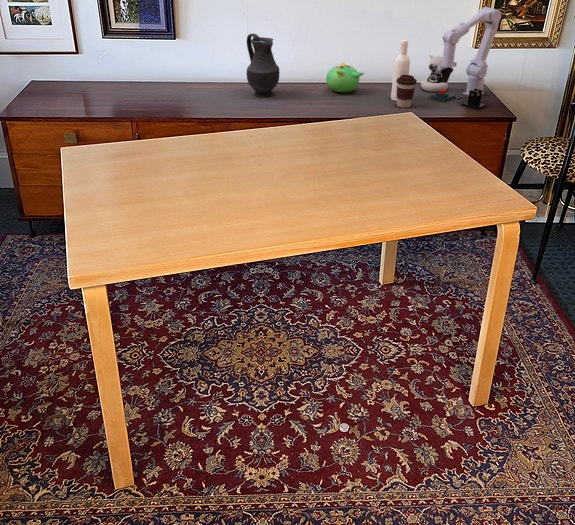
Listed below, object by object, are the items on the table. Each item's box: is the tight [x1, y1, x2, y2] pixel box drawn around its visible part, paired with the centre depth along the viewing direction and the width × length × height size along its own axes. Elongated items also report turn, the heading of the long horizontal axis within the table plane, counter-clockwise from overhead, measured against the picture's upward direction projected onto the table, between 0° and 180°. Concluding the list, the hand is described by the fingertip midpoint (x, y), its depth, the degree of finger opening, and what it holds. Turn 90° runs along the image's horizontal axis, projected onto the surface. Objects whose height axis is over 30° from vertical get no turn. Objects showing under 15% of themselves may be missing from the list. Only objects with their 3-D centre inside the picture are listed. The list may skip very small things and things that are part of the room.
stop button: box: [439, 89, 447, 94], centre depth 334 cm, size 4×4×2 cm
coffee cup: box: [396, 74, 418, 109], centre depth 321 cm, size 10×10×15 cm
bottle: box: [390, 39, 411, 102], centre depth 327 cm, size 8×8×30 cm
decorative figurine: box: [420, 54, 449, 93], centre depth 346 cm, size 15×15×20 cm
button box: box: [430, 91, 456, 103], centre depth 336 cm, size 11×8×4 cm
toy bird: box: [325, 62, 365, 93], centre depth 341 cm, size 18×17×15 cm
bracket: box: [460, 89, 487, 111], centre depth 324 cm, size 10×8×8 cm
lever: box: [456, 91, 479, 101], centre depth 326 cm, size 11×6×2 cm, turn 43°
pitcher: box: [246, 32, 280, 98], centre depth 331 cm, size 17×21×30 cm
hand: (444, 82), depth 332 cm, fingers closed
